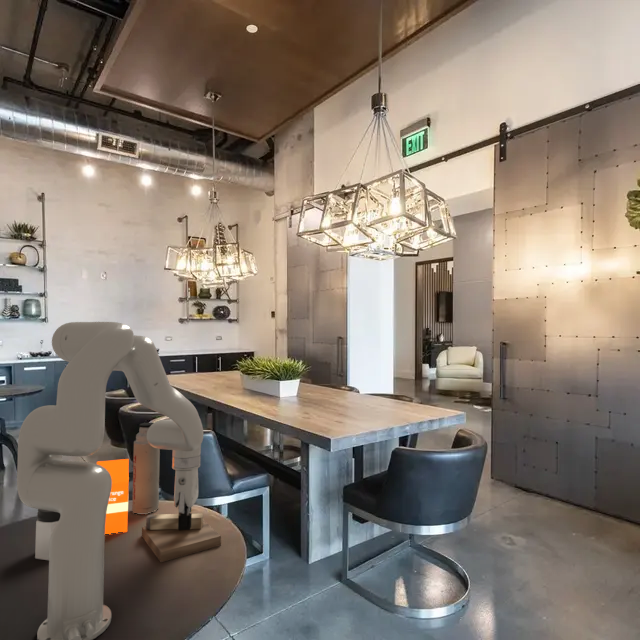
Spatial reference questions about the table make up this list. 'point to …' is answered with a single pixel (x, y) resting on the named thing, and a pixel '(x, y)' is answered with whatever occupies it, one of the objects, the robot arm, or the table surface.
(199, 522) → the hinged leg
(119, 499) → the orange juice
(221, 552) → the table surface
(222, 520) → the table surface
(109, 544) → the table surface
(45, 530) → the jar
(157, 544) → the stool top
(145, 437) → the thermos bottle
